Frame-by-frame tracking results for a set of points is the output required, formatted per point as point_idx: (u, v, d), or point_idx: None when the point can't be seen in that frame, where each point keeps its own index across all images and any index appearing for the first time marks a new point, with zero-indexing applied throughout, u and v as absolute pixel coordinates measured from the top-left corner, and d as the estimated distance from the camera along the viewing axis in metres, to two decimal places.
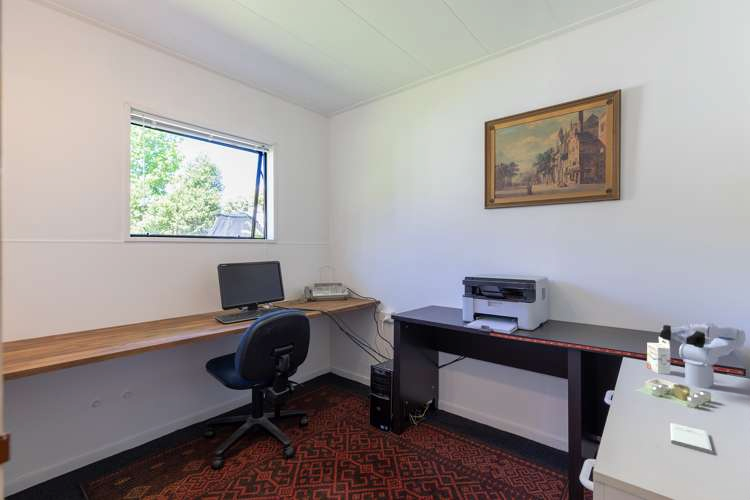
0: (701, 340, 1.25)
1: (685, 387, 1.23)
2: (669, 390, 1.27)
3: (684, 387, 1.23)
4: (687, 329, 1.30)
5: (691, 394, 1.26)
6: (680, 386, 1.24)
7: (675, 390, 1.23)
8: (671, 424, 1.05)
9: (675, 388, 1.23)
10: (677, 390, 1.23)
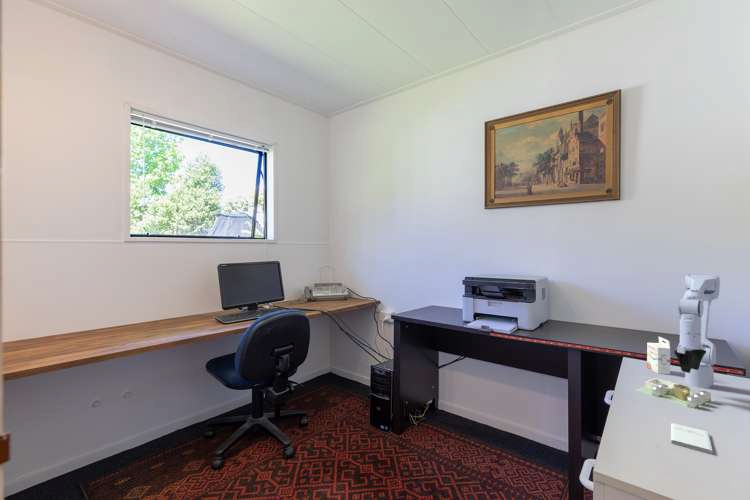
0: None
1: (685, 387, 1.23)
2: (669, 390, 1.27)
3: (684, 387, 1.23)
4: None
5: (691, 394, 1.26)
6: (680, 386, 1.24)
7: (675, 390, 1.23)
8: (672, 424, 1.04)
9: (675, 388, 1.23)
10: (677, 390, 1.23)
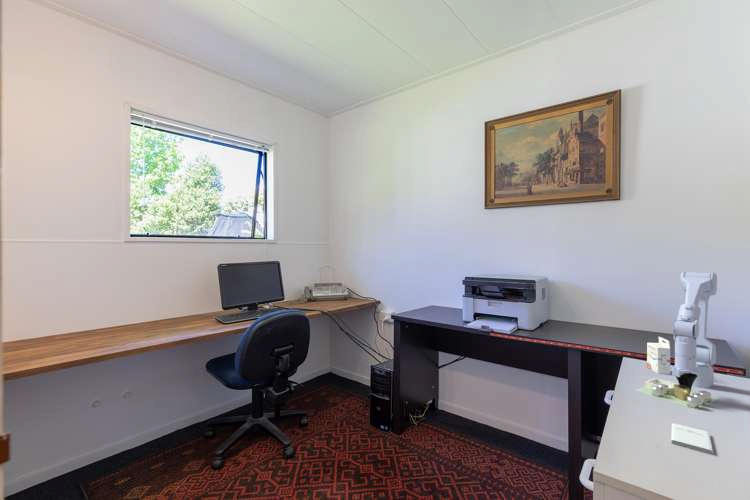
0: None
1: (685, 387, 1.22)
2: (669, 390, 1.27)
3: (684, 387, 1.22)
4: None
5: (691, 394, 1.26)
6: (680, 386, 1.24)
7: (675, 390, 1.23)
8: (672, 424, 1.04)
9: (675, 388, 1.23)
10: (677, 390, 1.23)
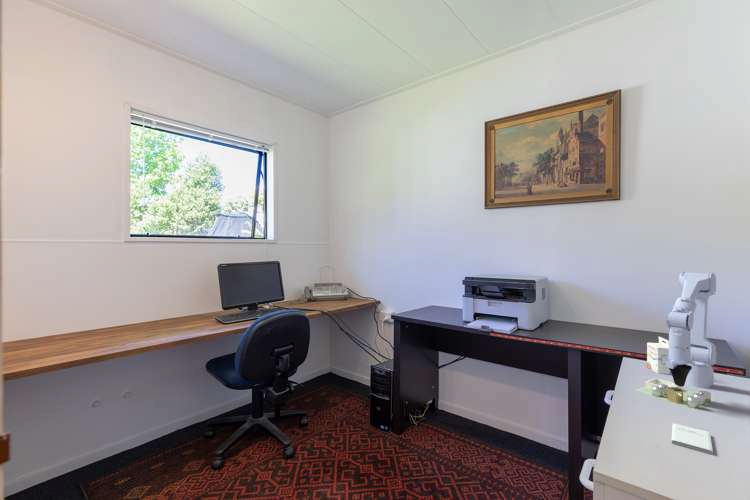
0: None
1: (679, 390, 1.20)
2: None
3: (677, 390, 1.20)
4: None
5: (691, 394, 1.26)
6: (673, 388, 1.21)
7: (668, 393, 1.21)
8: (673, 424, 1.04)
9: (668, 391, 1.21)
10: (670, 392, 1.21)
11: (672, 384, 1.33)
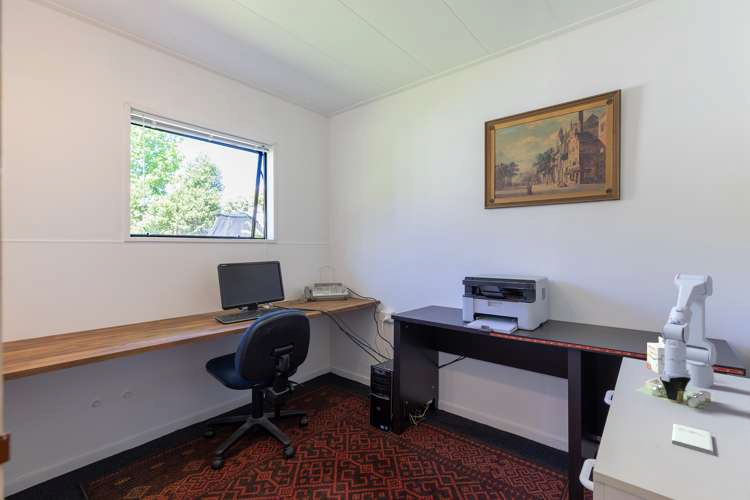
0: None
1: (679, 389, 1.20)
2: None
3: None
4: None
5: (691, 394, 1.26)
6: None
7: None
8: (674, 425, 1.04)
9: None
10: None
11: None
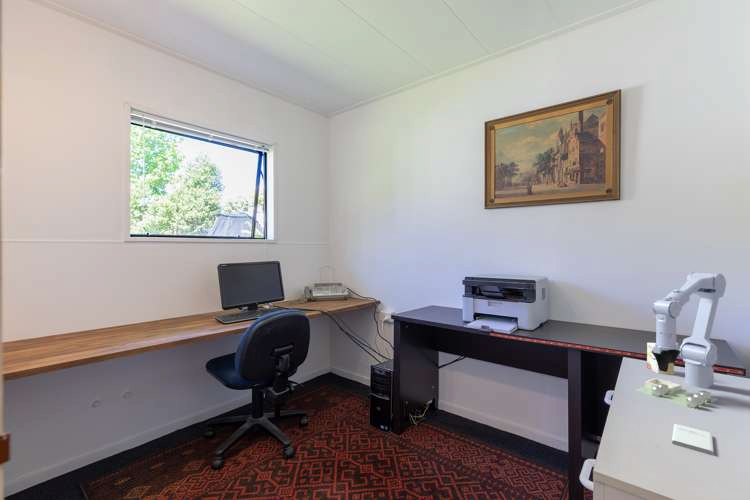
0: None
1: (670, 362, 1.29)
2: (669, 390, 1.27)
3: (669, 362, 1.29)
4: None
5: (691, 394, 1.26)
6: None
7: None
8: (675, 425, 1.04)
9: None
10: None
11: (672, 384, 1.33)
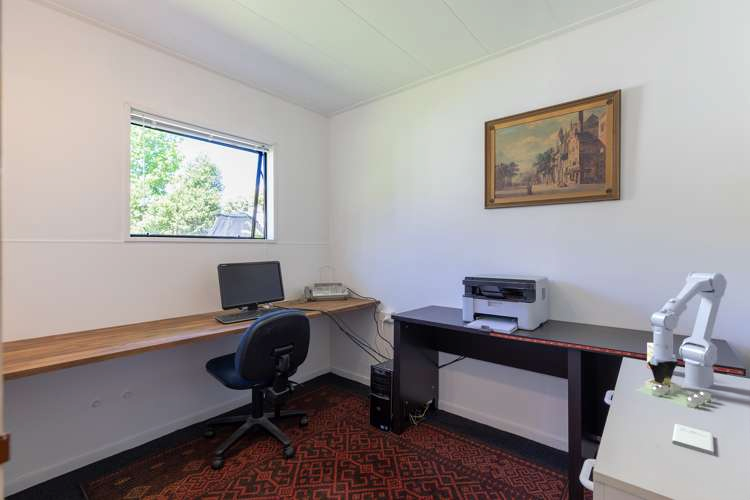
0: None
1: (666, 377, 1.31)
2: (669, 390, 1.27)
3: (665, 377, 1.31)
4: None
5: (691, 394, 1.26)
6: None
7: None
8: (675, 425, 1.04)
9: None
10: None
11: (672, 384, 1.33)
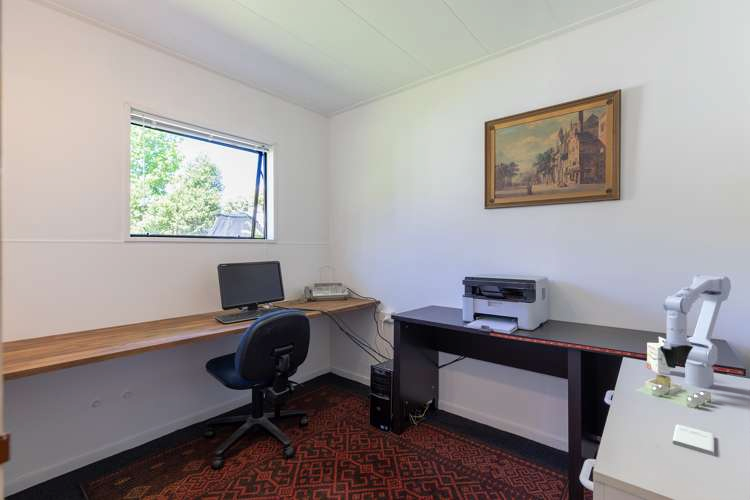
0: None
1: (666, 377, 1.31)
2: (669, 390, 1.27)
3: (665, 377, 1.31)
4: None
5: (691, 394, 1.26)
6: (662, 376, 1.32)
7: (657, 380, 1.32)
8: (676, 425, 1.04)
9: (657, 378, 1.32)
10: (659, 379, 1.32)
11: (672, 384, 1.33)
